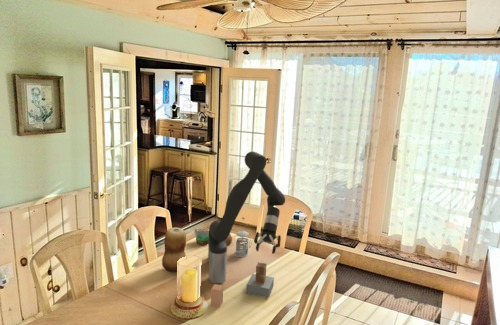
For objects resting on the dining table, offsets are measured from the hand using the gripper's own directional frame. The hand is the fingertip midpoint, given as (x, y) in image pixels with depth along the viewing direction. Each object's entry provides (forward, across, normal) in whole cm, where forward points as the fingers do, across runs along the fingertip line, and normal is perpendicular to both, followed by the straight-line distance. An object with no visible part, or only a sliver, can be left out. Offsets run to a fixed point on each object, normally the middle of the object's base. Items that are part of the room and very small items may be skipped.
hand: (265, 252), depth 192 cm
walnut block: (+14, 0, +4) cm, 15 cm away
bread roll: (-18, -39, +44) cm, 62 cm away
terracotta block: (+32, -17, -6) cm, 37 cm away
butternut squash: (+16, -52, +10) cm, 55 cm away
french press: (-8, -21, +34) cm, 41 cm away
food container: (-12, -51, +38) cm, 65 cm away
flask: (+3, -33, +23) cm, 41 cm away
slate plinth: (+18, 0, +8) cm, 19 cm away
